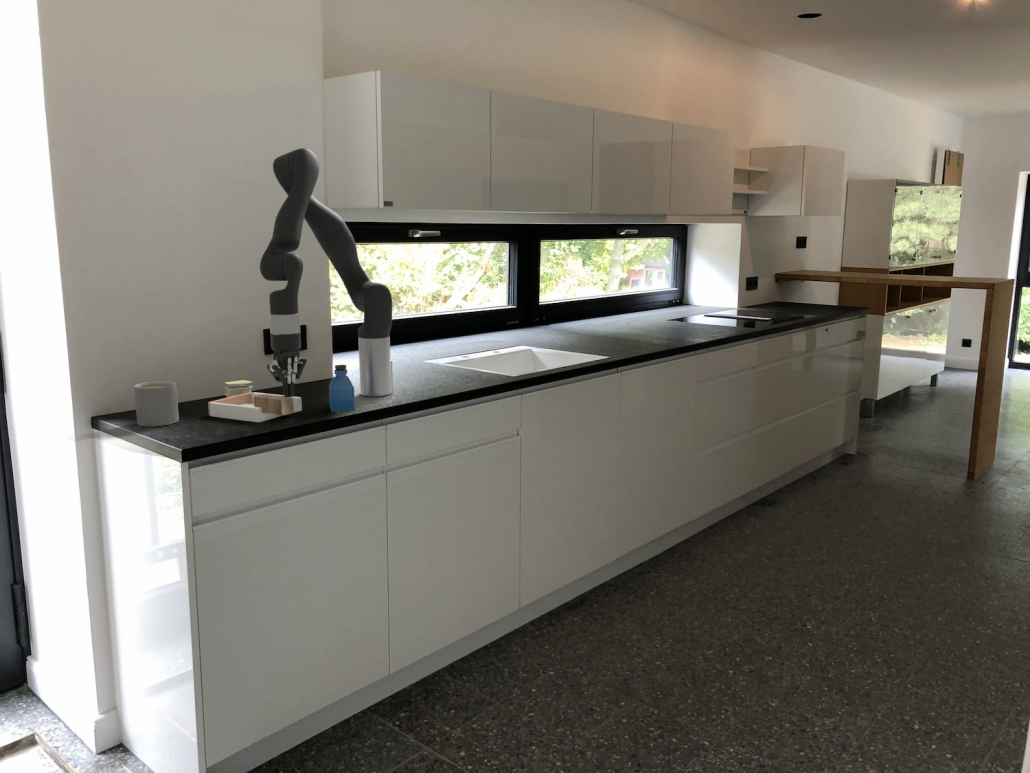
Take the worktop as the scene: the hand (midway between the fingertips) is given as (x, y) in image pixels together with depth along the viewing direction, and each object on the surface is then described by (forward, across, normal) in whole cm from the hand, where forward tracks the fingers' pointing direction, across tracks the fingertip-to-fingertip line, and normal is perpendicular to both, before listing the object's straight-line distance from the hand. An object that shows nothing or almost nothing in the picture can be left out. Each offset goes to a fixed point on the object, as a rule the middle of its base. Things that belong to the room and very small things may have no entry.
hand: (289, 396), depth 222 cm
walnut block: (+2, 0, 0) cm, 3 cm away
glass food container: (+6, -12, -30) cm, 33 cm away
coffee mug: (+6, +18, -27) cm, 33 cm away
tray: (+6, 0, -12) cm, 13 cm away
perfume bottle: (+6, -15, +5) cm, 17 cm away
